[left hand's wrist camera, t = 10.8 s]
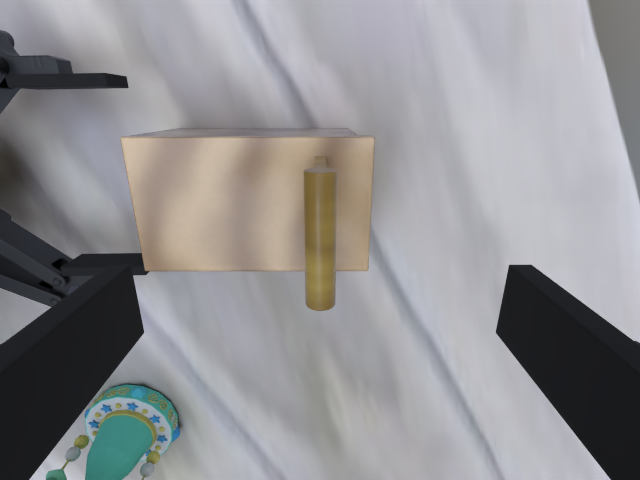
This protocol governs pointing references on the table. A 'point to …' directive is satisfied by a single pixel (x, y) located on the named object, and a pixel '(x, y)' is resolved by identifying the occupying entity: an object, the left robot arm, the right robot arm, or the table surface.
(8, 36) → the right robot arm
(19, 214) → the table surface
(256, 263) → the cabinet door
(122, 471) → the decorative hourglass
